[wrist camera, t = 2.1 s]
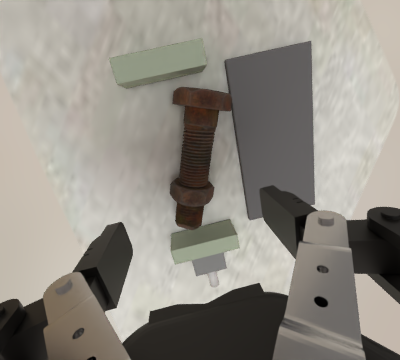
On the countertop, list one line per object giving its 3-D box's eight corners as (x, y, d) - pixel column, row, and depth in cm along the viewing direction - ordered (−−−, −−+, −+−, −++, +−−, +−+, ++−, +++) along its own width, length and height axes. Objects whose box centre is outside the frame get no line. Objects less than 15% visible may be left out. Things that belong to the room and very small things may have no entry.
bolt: (181, 209, 28) (193, 91, 23) (215, 220, 26) (236, 96, 21) (156, 229, 23) (165, 84, 18) (196, 244, 21) (219, 89, 16)
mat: (224, 61, 21) (226, 59, 20) (307, 42, 21) (311, 40, 21) (248, 218, 27) (249, 220, 27) (311, 202, 28) (314, 204, 27)
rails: (119, 66, 20) (108, 58, 17) (198, 49, 20) (202, 38, 17) (185, 279, 30) (186, 300, 26) (238, 265, 30) (246, 285, 27)
